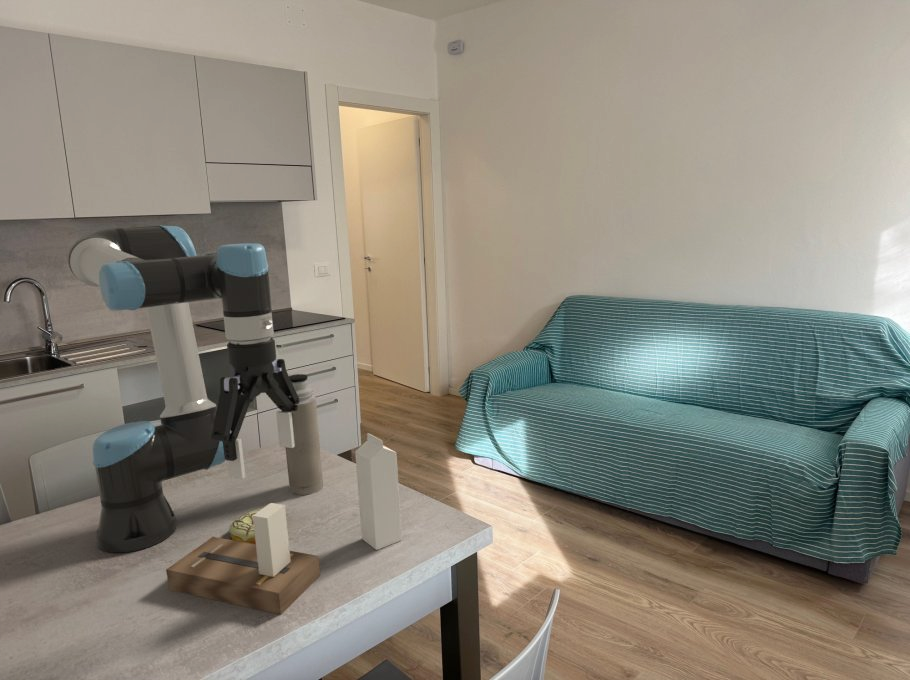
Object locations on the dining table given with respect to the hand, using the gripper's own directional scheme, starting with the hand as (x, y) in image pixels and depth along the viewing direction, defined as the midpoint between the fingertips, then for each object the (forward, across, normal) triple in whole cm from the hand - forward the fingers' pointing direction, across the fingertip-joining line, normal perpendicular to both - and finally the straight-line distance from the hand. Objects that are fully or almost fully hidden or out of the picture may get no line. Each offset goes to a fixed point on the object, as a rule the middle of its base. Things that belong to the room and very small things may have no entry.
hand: (263, 461), depth 109 cm
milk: (+24, +21, -10) cm, 34 cm away
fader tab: (+20, 0, 0) cm, 20 cm away
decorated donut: (+25, +16, +16) cm, 33 cm away
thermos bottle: (+25, +38, +19) cm, 49 cm away
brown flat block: (+24, 0, +7) cm, 25 cm away
